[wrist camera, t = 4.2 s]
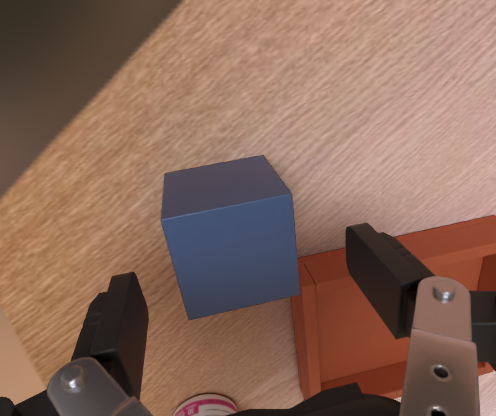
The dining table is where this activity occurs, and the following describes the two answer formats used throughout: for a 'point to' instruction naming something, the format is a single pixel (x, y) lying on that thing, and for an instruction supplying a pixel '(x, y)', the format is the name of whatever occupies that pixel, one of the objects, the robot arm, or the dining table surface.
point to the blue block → (230, 235)
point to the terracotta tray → (366, 318)
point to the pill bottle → (206, 406)
